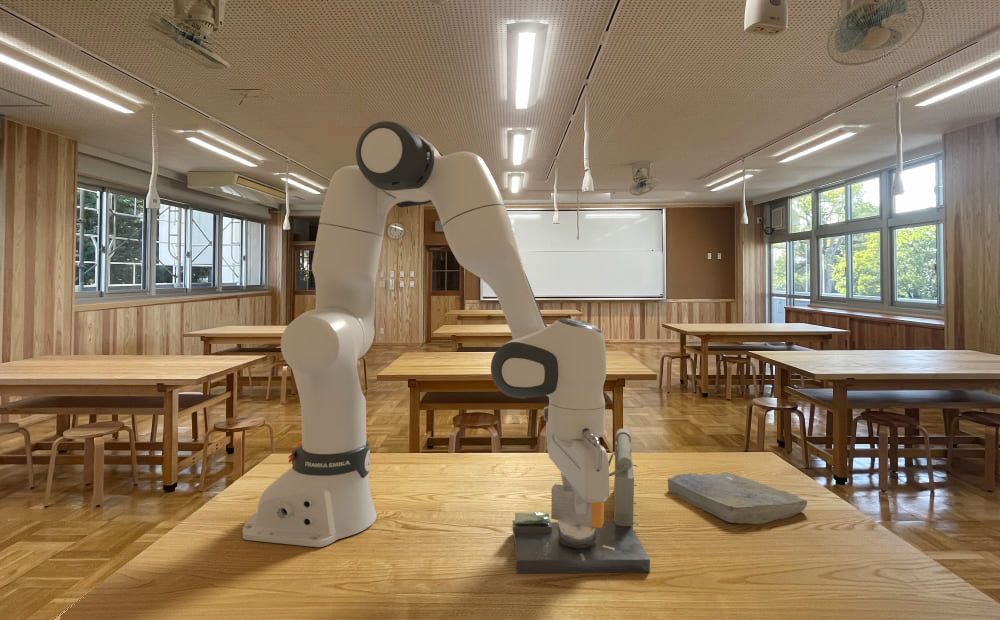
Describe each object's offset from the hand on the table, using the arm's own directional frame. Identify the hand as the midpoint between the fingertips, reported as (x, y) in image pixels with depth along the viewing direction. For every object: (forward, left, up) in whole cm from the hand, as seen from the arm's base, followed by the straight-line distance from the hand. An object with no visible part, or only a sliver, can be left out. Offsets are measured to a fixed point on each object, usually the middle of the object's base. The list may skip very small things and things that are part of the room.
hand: (574, 505), depth 83 cm
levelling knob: (0, 0, -5) cm, 5 cm away
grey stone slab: (+35, +19, -8) cm, 40 cm away
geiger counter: (+12, +17, -8) cm, 22 cm away
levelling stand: (0, 0, -8) cm, 8 cm away
